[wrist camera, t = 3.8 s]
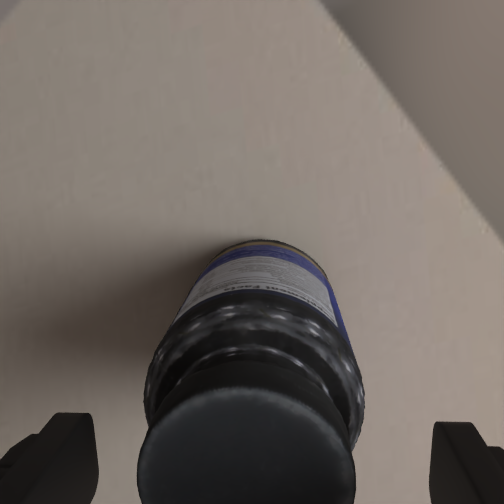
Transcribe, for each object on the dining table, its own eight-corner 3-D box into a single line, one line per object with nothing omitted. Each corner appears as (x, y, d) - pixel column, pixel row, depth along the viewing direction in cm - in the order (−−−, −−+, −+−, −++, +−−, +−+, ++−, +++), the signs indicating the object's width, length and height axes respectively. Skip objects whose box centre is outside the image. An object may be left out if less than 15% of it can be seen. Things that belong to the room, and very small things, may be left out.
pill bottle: (300, 387, 21) (319, 641, 11) (174, 339, 21) (66, 549, 11) (357, 266, 20) (445, 423, 9) (222, 213, 20) (152, 310, 9)
